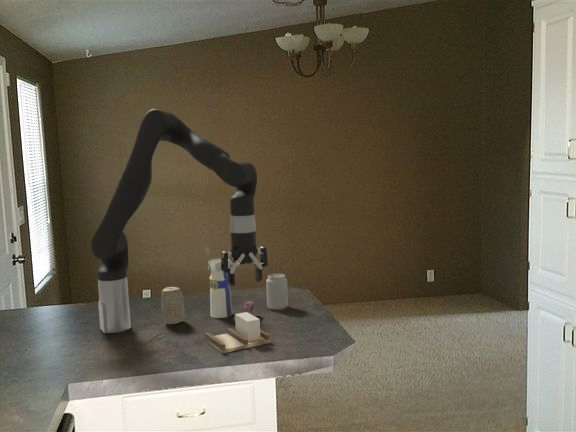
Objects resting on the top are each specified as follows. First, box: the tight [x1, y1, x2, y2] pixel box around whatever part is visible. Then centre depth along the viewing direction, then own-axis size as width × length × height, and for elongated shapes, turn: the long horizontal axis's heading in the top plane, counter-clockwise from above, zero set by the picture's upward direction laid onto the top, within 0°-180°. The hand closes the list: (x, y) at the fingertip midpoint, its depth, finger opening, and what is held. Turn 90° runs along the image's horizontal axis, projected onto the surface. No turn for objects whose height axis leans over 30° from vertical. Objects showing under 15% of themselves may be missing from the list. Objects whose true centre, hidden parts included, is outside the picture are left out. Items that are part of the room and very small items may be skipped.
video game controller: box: [233, 300, 256, 322], centre depth 200 cm, size 10×5×7 cm, turn 169°
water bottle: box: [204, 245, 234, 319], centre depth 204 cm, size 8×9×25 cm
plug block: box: [234, 312, 261, 341], centre depth 178 cm, size 9×4×6 cm, turn 29°
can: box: [265, 273, 289, 311], centre depth 211 cm, size 8×8×12 cm
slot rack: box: [204, 327, 271, 354], centre depth 177 cm, size 16×13×2 cm
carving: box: [160, 286, 186, 325], centre depth 198 cm, size 6×8×12 cm
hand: (245, 283), depth 176 cm, fingers open, 8 cm apart
